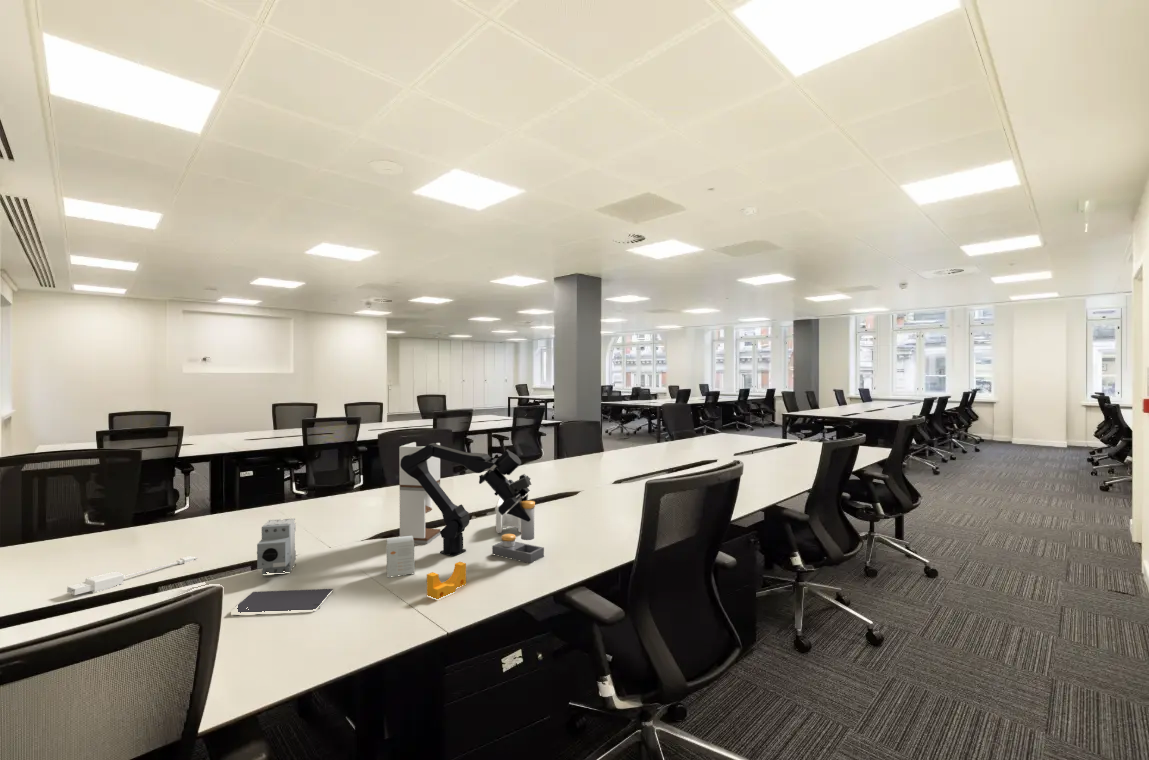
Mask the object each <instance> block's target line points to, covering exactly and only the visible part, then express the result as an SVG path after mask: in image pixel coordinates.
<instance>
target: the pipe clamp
mask: <svg viewBox="0 0 1149 760" xmlns="http://www.w3.org/2000/svg"><path fill="white" fill-rule="evenodd" d="M465 584H466V585H467V563H465V562H463V561H458V562H455V563H454V569H453V572H452V573H451V575H450V576H449V578H448V579H446V580H445V581H441V579H440V575H439V574H438V573H436V572H433V571H432V572H430V573H429V572H428V573H427V574H426V596H427V595H428V596H431V597H433V598H436V599H439V598H441V597H443V596H446V595H448V594H450V593H453V592H455V591H456V590H457V589H456V588H457V587H460V586H462V585H465ZM466 585H465V586H466ZM460 588H461V587H460Z"/></svg>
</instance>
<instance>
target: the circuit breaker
mask: <svg viewBox="0 0 1149 760" xmlns="http://www.w3.org/2000/svg"><path fill="white" fill-rule="evenodd" d="M295 520H296V518H295V517H293V518H284V519H281V518H279V519H268V521H266V522H265V523H264V524H263V525H262V526H261V539H260V540H259V542H257V544H256V555H257V557H256V559H257V560H256V561H257V562H256V563H257V564H256V565H257V567H256V569H257V570H261V575H262V574H267V573H266V572H269V573H285V572H290V571H291V569H292V568H293V566H294V565H295V562H296V560H297V555H296V536H295V535H296V531H297V530H296V526H297V525H296V522H295ZM295 566H296V565H295ZM295 566H294V567H295ZM293 569H294V568H293ZM293 569H292V570H293ZM283 571H285V572H283ZM291 572H292V571H291ZM291 572H290V573H291Z"/></svg>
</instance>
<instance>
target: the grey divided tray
mask: <svg viewBox="0 0 1149 760" xmlns="http://www.w3.org/2000/svg"><path fill="white" fill-rule="evenodd" d="M516 539H517V538H516V534H513V533H504V534H501V541H500V542H498V543H496V544H494V545H491V546H492V547H491V549H492V550H491V552H492V553H491V554H495V555H494V556H496V555H499V556H498V557H500V556H503V557H502V558H505V557H507V558H506V559H509V558H512V559H511V560H513V559H516V560H515V561H518V560H520V561H519V562H522V561H524V562H523V563H527V562H528V563H527V564H533V563H535V562H536V561H538V560H540V559H542V558H544V557H545V547H542V546H538V545H533V544H530V543H529V544H528V543H523V542H519V541H516ZM534 561H535V562H534Z"/></svg>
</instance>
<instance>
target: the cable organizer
mask: <svg viewBox="0 0 1149 760" xmlns="http://www.w3.org/2000/svg"><path fill="white" fill-rule="evenodd" d="M503 502H504V501H503V500H502V499H501V497H499V499H498V500H497V501H496V505H495V507H494V512H495V513H496V515H495V529H496V530H495V531H496V533H497V534H502V532H503V529H506V530H507V529H508V527H513V529H514V530H516V529H517V530H518V533H520V532H521V518H518V517H516V516H513V515H510V514H507V513H508V512H509V511H510V510H508V511H506V513H505V514H503V515H501V514H500V512H499V511H498V507H499V506H500V505H501V504H502V503H503Z"/></svg>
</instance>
